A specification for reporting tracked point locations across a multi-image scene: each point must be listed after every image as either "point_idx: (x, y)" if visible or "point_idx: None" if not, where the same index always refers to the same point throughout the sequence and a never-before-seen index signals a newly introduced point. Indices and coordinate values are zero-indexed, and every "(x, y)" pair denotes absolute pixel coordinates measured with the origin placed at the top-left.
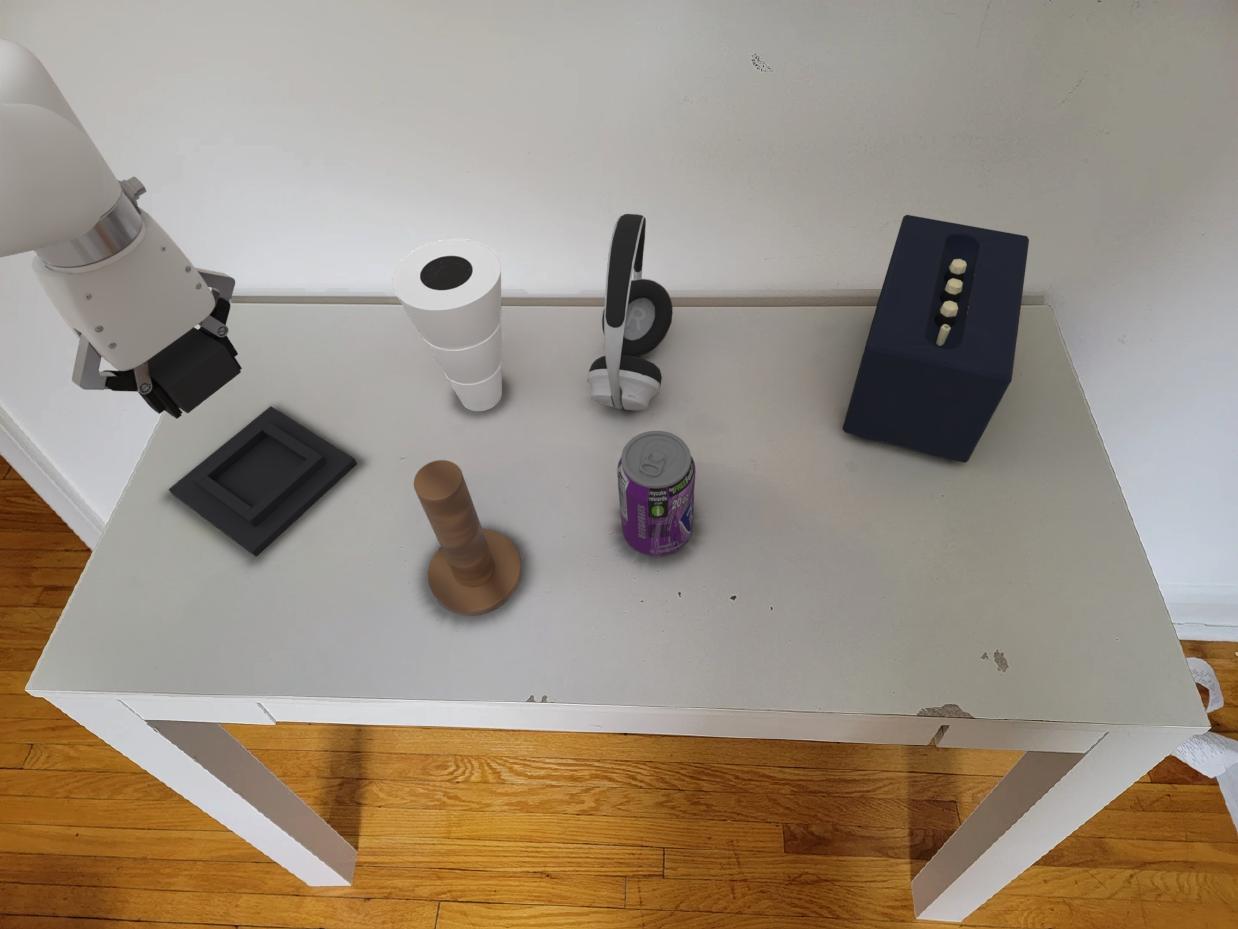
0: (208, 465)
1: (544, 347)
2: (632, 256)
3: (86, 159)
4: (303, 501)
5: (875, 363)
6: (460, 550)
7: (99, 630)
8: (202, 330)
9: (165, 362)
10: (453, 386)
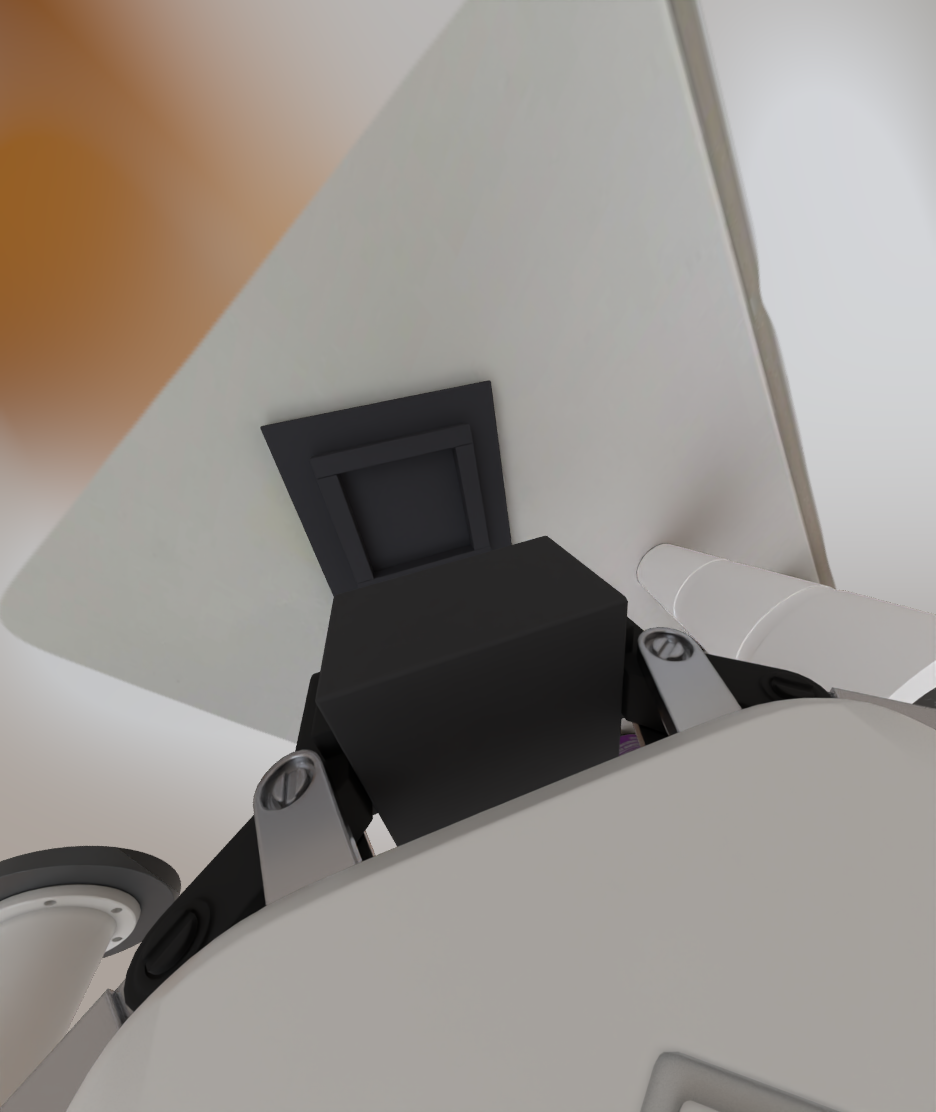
0: (347, 455)
1: (740, 550)
2: None
3: None
4: None
5: None
6: None
7: (91, 596)
8: (627, 683)
9: (451, 776)
10: (664, 592)
